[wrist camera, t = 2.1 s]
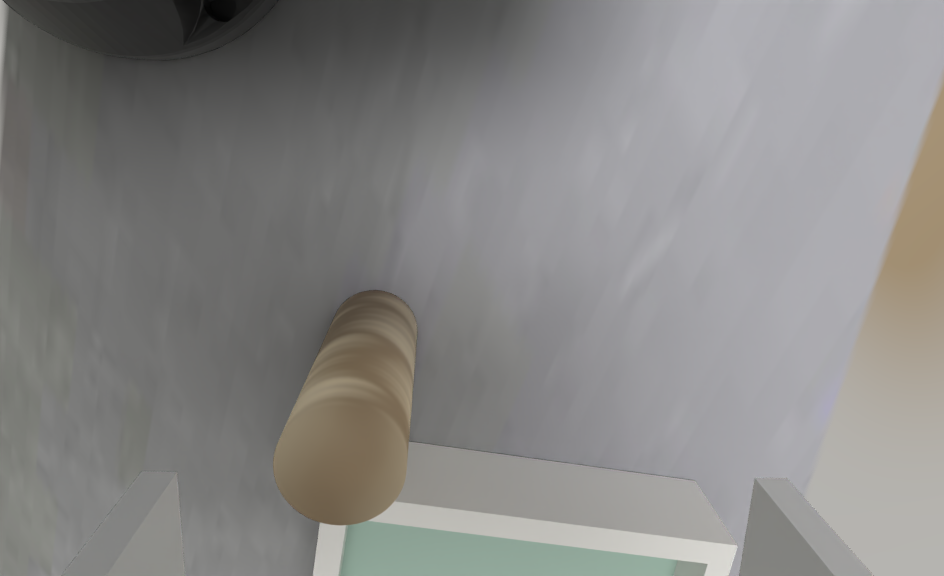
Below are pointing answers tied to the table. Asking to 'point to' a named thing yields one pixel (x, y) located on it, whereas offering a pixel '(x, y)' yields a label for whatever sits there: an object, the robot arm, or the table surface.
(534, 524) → the bore box
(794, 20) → the table surface
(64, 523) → the table surface
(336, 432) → the peg
